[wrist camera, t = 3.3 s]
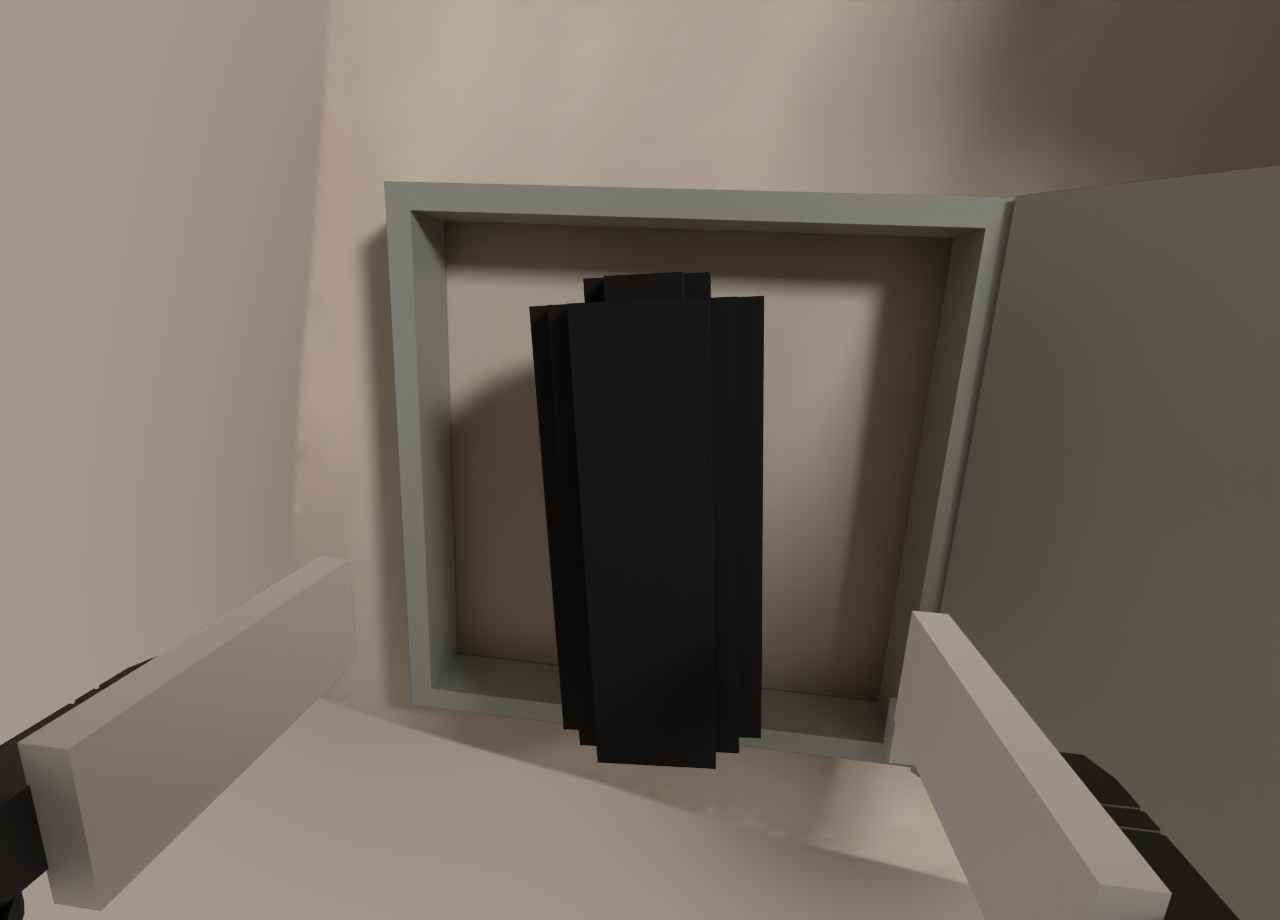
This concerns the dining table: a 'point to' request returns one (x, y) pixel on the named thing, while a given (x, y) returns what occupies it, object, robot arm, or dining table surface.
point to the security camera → (655, 513)
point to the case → (995, 478)
